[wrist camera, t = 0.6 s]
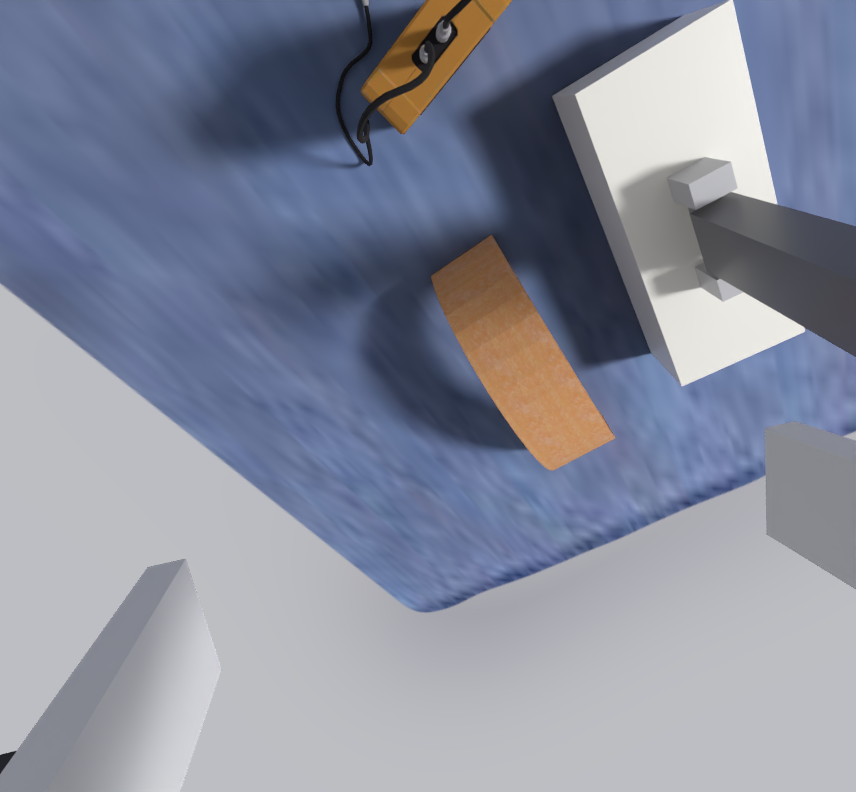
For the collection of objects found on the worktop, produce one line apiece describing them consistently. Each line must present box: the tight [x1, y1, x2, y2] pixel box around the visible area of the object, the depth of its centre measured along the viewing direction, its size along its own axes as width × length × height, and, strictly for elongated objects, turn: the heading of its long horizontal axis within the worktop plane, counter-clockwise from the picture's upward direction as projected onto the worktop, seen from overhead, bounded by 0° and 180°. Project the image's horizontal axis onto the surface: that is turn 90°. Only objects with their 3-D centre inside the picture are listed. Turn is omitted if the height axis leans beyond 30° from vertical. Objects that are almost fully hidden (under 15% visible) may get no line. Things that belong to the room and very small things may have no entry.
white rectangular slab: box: [552, 0, 805, 386], centre depth 35 cm, size 22×9×9 cm, turn 30°
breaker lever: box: [688, 192, 856, 357], centre depth 24 cm, size 5×3×20 cm
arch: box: [431, 235, 615, 470], centre depth 40 cm, size 6×20×10 cm, turn 34°
